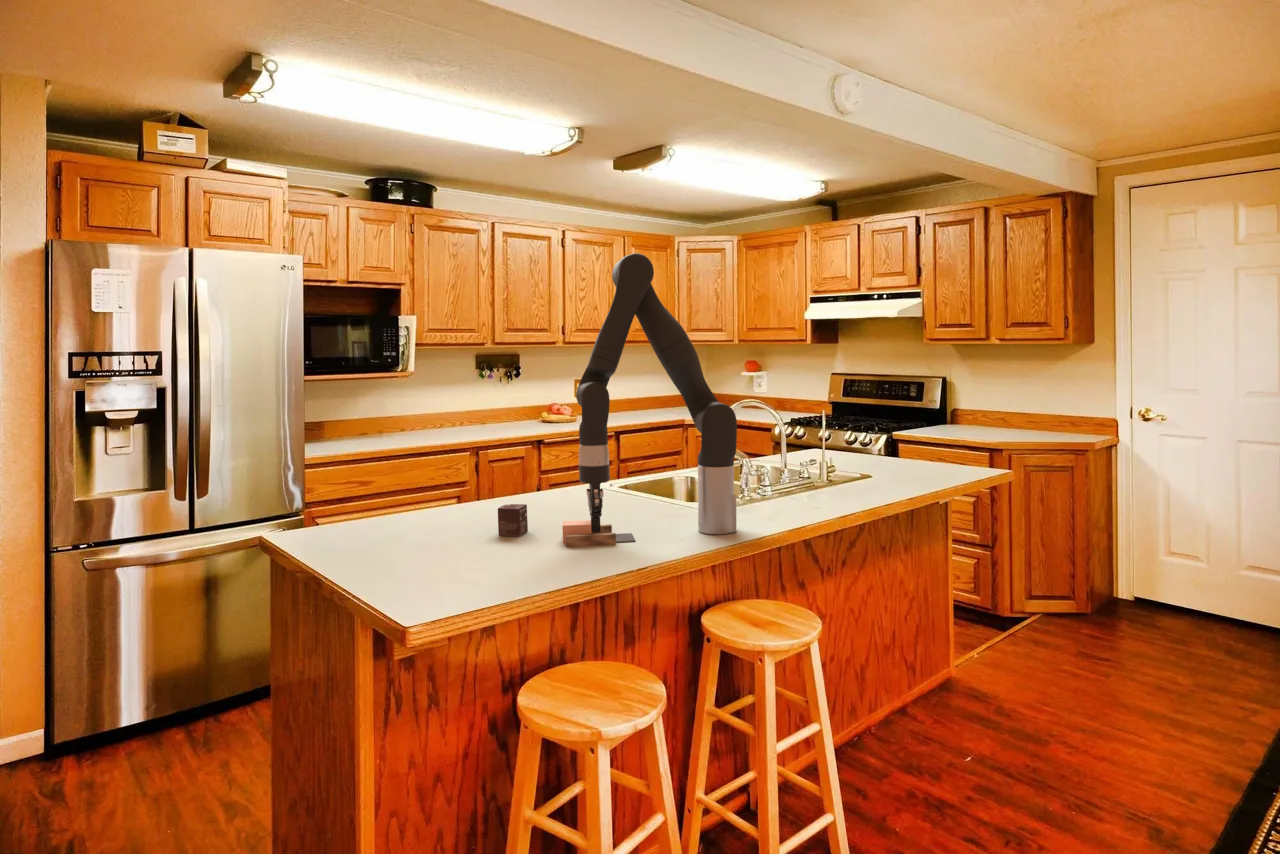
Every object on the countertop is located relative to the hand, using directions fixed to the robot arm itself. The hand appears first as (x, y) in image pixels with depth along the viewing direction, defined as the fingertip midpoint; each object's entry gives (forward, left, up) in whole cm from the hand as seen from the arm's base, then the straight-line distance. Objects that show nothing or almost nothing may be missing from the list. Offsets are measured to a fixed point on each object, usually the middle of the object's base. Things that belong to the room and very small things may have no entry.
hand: (595, 531), depth 188 cm
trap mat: (-7, 0, -2) cm, 7 cm away
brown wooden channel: (+2, 0, -2) cm, 3 cm away
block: (+5, 0, -2) cm, 5 cm away
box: (+21, -11, -2) cm, 24 cm away
